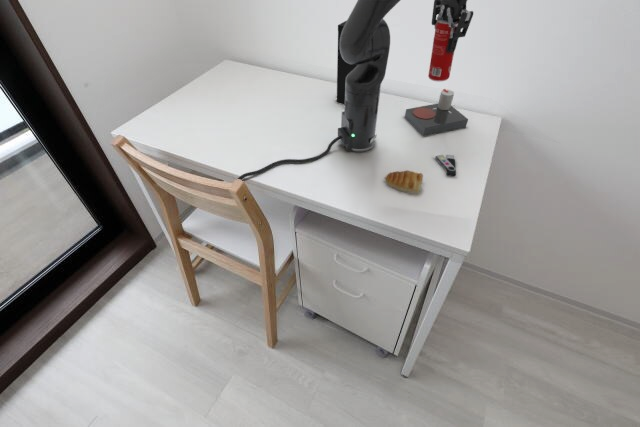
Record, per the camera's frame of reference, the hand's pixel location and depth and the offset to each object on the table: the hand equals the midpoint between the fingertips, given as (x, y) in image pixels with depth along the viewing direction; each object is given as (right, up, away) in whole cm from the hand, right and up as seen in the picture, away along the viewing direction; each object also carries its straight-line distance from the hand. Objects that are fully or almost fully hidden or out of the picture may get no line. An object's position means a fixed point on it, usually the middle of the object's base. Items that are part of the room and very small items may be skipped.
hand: (443, 48), depth 91 cm
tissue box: (-22, -5, +29) cm, 37 cm away
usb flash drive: (+1, -32, +1) cm, 32 cm away
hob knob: (+7, -10, +18) cm, 22 cm away
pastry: (-11, -38, -4) cm, 40 cm away
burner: (0, -13, +15) cm, 20 cm away
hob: (+3, -16, +17) cm, 23 cm away
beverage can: (0, -6, +6) cm, 8 cm away
